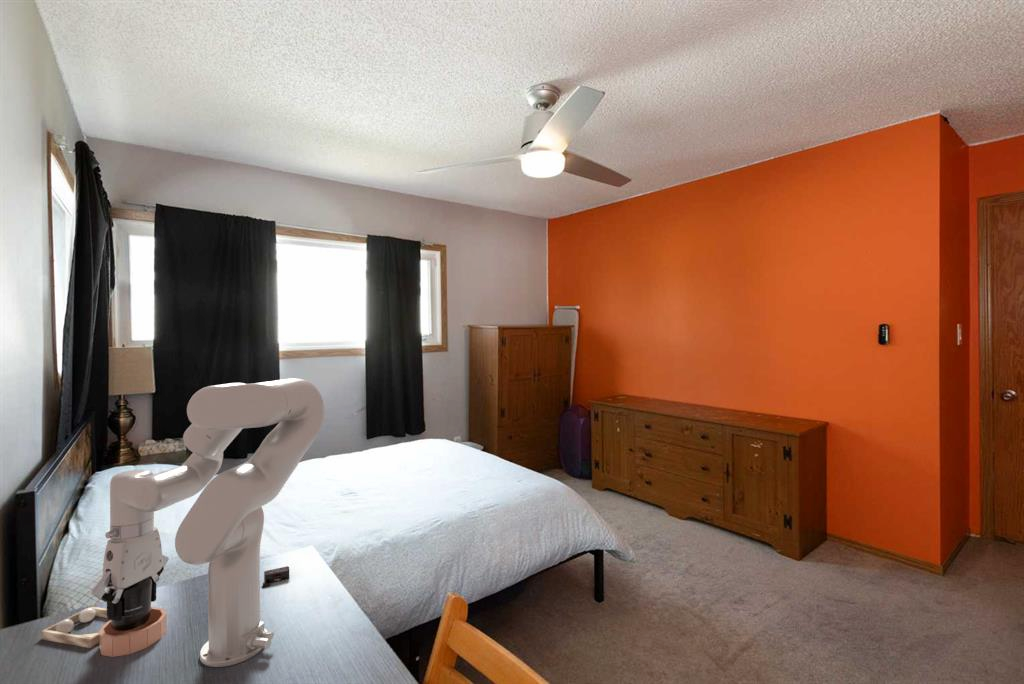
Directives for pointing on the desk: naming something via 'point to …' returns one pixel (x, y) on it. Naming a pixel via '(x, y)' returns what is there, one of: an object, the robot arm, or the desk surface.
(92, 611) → the pebble
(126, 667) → the desk surface
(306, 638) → the desk surface
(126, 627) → the supplement bottle
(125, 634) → the bowl
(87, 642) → the tray
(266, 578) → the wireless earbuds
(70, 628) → the pebble
